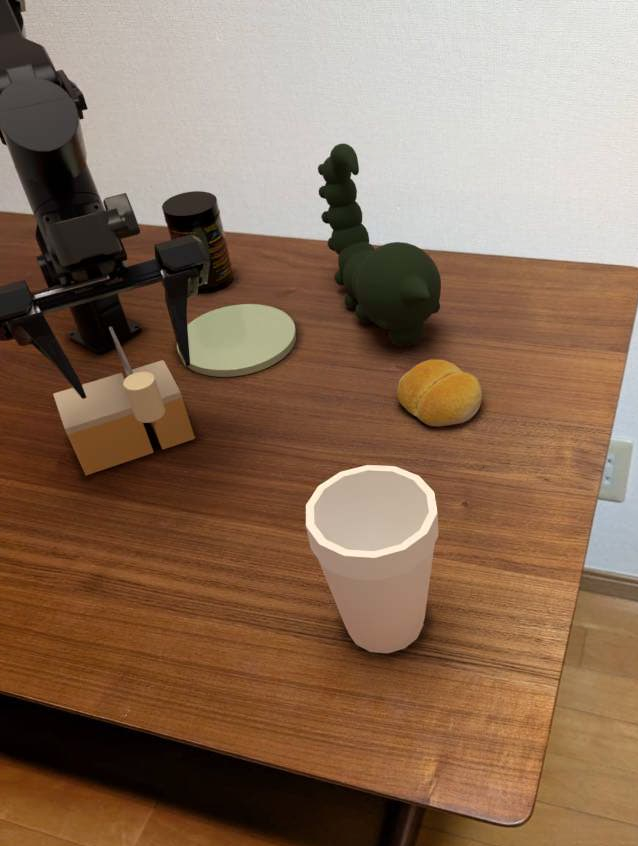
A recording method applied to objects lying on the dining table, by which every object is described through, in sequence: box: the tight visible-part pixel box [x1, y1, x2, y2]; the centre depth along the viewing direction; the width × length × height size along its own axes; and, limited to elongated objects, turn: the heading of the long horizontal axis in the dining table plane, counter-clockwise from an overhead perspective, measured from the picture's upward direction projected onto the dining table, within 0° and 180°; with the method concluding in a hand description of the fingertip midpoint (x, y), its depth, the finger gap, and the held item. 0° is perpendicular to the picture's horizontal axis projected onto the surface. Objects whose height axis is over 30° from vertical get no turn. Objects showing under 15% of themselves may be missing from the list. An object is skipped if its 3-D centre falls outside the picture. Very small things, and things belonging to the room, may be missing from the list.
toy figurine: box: [317, 143, 442, 347], centre depth 94 cm, size 9×19×25 cm
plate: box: [176, 303, 297, 378], centre depth 98 cm, size 14×14×1 cm
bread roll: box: [396, 358, 483, 427], centre depth 87 cm, size 8×9×4 cm
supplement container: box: [161, 190, 234, 293], centre depth 105 cm, size 7×7×10 cm
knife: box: [109, 327, 165, 426], centre depth 77 cm, size 17×3×9 cm, turn 26°
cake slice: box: [131, 359, 196, 450], centre depth 86 cm, size 6×4×6 cm, turn 26°
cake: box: [52, 372, 154, 476], centre depth 84 cm, size 6×7×6 cm
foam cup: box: [305, 464, 439, 654], centre depth 64 cm, size 10×9×13 cm
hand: (137, 381), depth 72 cm, fingers open, 9 cm apart
